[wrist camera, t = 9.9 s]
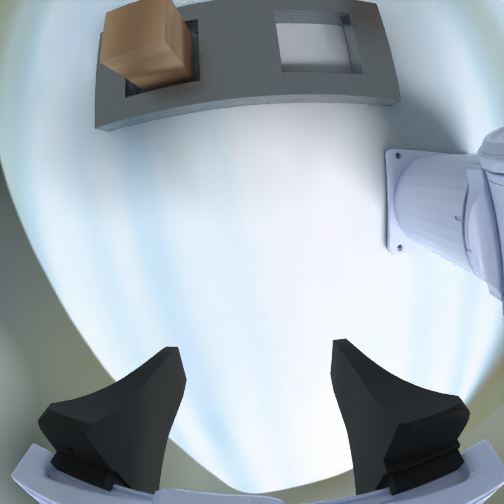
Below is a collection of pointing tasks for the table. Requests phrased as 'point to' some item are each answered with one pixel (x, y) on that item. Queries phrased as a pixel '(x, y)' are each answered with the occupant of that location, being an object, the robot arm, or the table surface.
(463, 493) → the robot arm
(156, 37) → the walnut peg
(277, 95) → the grey slotted board
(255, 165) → the table surface
